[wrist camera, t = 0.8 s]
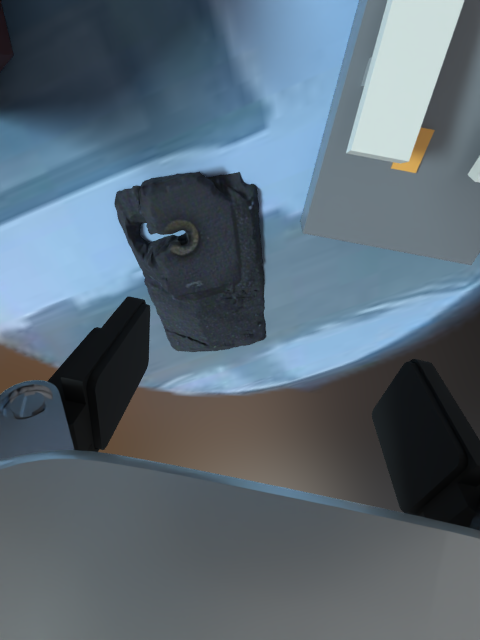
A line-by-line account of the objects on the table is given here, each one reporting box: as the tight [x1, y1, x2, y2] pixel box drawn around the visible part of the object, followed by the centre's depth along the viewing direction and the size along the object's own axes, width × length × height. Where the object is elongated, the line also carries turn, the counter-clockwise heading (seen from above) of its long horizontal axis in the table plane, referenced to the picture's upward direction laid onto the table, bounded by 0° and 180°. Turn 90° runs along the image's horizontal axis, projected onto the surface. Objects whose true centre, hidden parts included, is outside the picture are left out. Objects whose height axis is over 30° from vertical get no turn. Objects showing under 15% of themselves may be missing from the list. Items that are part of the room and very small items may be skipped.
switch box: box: [300, 0, 480, 265], centre depth 23 cm, size 24×16×6 cm, turn 171°
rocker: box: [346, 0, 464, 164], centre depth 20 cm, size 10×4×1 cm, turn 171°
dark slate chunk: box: [115, 172, 266, 352], centre depth 35 cm, size 15×22×5 cm
